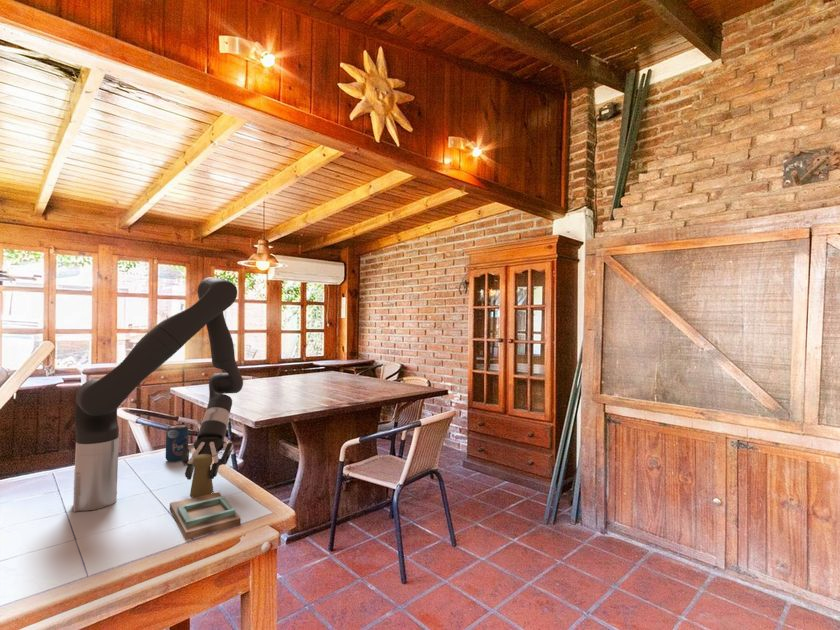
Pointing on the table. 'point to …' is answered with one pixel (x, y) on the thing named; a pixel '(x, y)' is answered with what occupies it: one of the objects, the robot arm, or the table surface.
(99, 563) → the table surface
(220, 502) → the holder plate
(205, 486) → the cork
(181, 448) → the soda can
